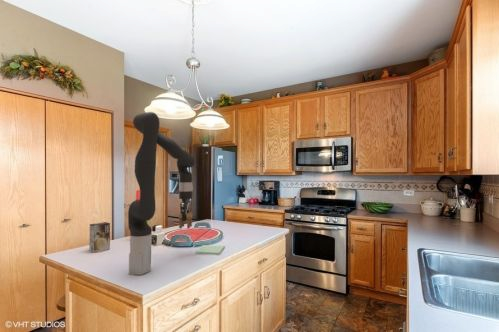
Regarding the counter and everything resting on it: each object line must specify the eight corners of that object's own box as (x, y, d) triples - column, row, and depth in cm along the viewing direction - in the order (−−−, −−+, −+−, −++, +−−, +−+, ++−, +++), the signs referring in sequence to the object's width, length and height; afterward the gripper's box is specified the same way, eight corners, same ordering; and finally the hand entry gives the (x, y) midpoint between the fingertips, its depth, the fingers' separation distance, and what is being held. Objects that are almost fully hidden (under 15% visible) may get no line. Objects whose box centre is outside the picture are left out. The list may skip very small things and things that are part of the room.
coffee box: (105, 247, 155) (105, 221, 155) (110, 249, 151) (110, 222, 152) (88, 251, 148) (89, 224, 148) (93, 253, 144) (94, 225, 144)
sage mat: (219, 254, 142) (219, 252, 142) (195, 253, 143) (195, 251, 143) (224, 247, 155) (224, 245, 155) (202, 246, 157) (202, 245, 157)
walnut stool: (189, 228, 138) (189, 213, 139) (178, 228, 138) (178, 213, 139) (192, 226, 144) (192, 212, 145) (181, 226, 144) (181, 212, 145)
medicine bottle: (148, 244, 162) (149, 225, 163) (157, 241, 169) (157, 223, 169) (156, 245, 159) (156, 227, 160) (165, 243, 165) (165, 225, 166)
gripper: (189, 191, 135) (189, 222, 134) (195, 189, 149) (195, 217, 149) (175, 191, 135) (175, 222, 134) (182, 189, 149) (182, 217, 149)
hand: (185, 219), depth 142 cm, fingers closed on walnut stool, 6 cm apart
